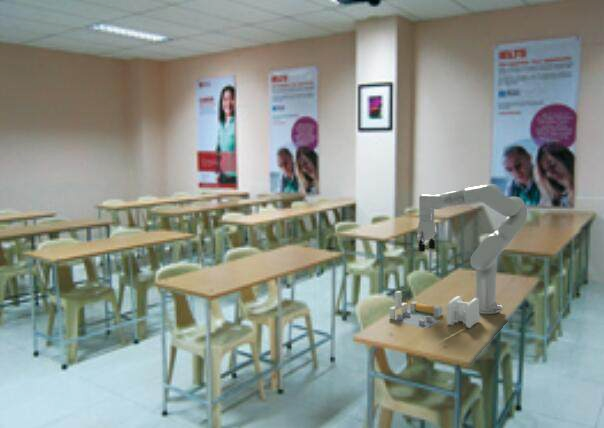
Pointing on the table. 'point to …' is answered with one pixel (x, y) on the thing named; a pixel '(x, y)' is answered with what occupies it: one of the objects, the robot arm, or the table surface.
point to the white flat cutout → (398, 304)
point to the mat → (423, 314)
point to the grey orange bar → (426, 308)
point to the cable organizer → (463, 311)
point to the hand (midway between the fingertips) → (427, 249)
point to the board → (415, 320)
